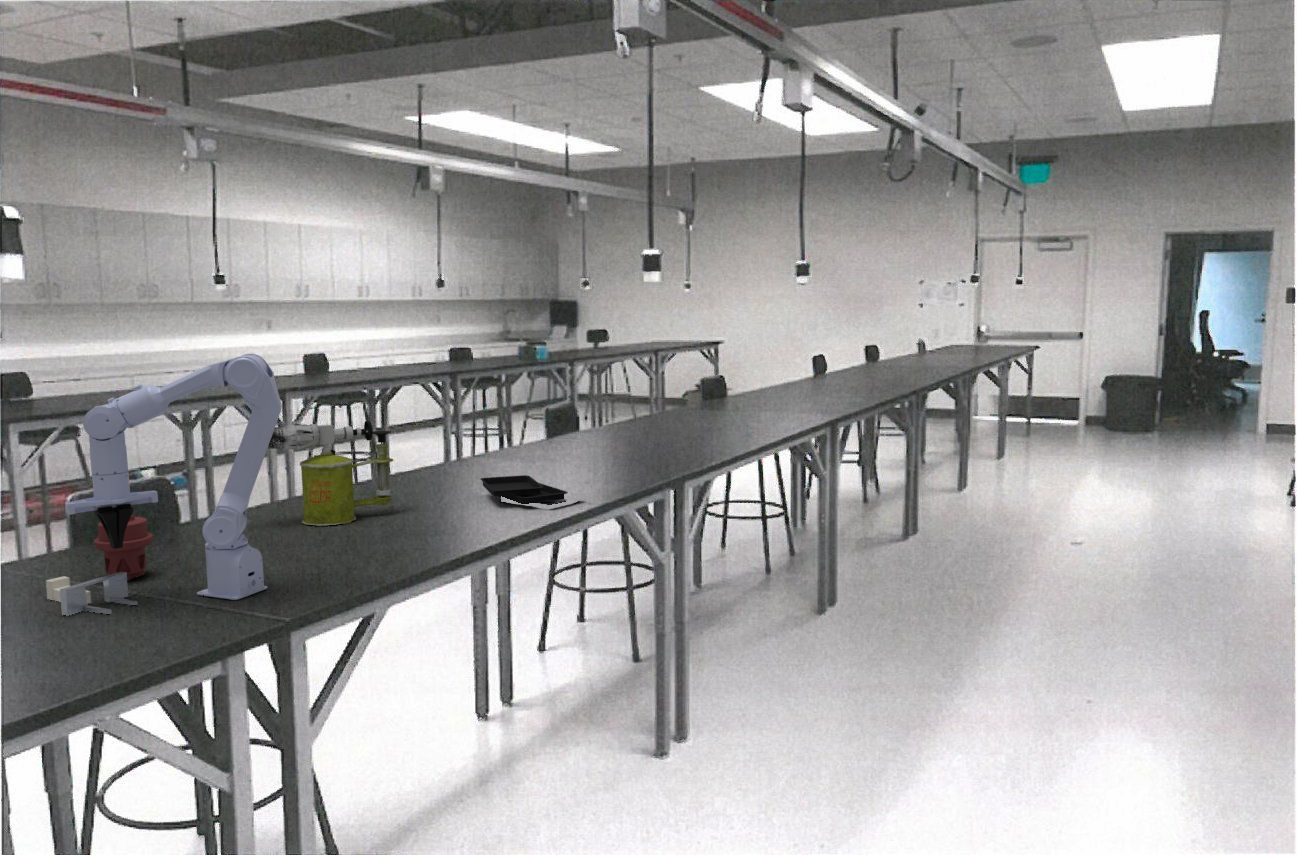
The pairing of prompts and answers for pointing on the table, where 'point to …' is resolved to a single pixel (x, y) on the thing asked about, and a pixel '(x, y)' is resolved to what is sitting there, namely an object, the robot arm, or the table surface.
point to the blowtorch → (332, 471)
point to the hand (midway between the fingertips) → (116, 547)
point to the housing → (113, 592)
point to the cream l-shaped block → (60, 583)
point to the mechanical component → (126, 548)
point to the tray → (522, 489)
